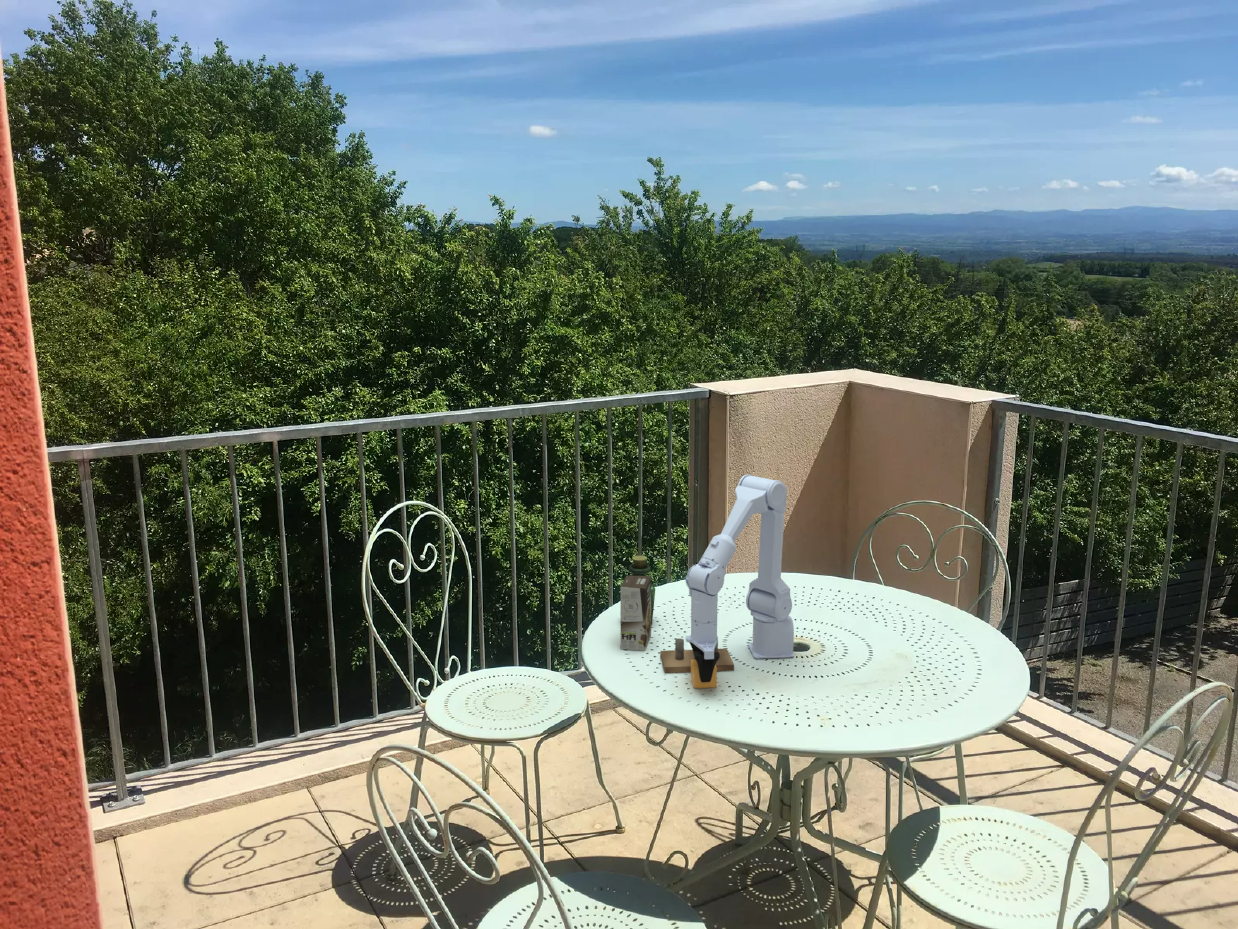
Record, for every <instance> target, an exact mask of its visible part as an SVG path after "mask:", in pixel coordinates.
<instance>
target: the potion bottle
mask: <svg viewBox="0 0 1238 929" xmlns="http://www.w3.org/2000/svg"><path fill="white" fill-rule="evenodd" d="M647 560H648V557H647V556H645V555H635V556H632V564H630V566H629V567H628V573H630V574H632V576H648V574H649V573H651V572H652V569H651V566H650V565H649V564H647ZM655 597H656V587H655V586H654V584H653V583H652V582H651V626H652V624H653V620H654V610H655V609H654V608H655Z"/></svg>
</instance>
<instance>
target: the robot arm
mask: <svg viewBox="0 0 1238 929" xmlns="http://www.w3.org/2000/svg"><path fill="white" fill-rule="evenodd" d="M787 494H788V487H787V486H786V485H785V483H783V482H782V481H781V480H779V479H770V478H765V477H759V476H754V475H751V474H744V475H743V476H741V477H740V479H739V481H738V483H737V486H736V487H735V489H734V496H735V502H734V504H733V506H732V509H731V511H730V513H729V515H728V517H727V519H726V521H725V524H724V526H723V528H722V530H721V533H720V534H717V535H715V536H713V537H712V538H711V540H710V541H709V544H708V546H707V548H705V551H704V553H703V554H702V556H701V558H700V560H699V561H698V563H697V564H694V565H692V566H691V567H690V568H689V570H688V571H687V574H686V578H685V585H686V587H687V588H688V595H689V596H690V599H691V600H690V601H691V602H690V603H691V604H690V607H691V608H690V610H691V612H690V613H691V614H690V616H691V617H690V635H686V636H685V642H686V643H689V645H690V647H691V650H693V654H694V659H696V661H697V664H698V669H699V676H700V680H701V682H710V681H711V678H712V674H713V670H714V667H715V664H716V662H717V661H718V659H719V657H720V654H719V652H714V649H715V646H716V644H717V642H718V643H719V636H718V601H719V600H718V596H719V594H718V593H720V592H721V590H722V588H724V583H725V576H726V573H727V572H726V569H727V566H728V565H729V563H730V562H731V560H732V558H733V556H734V554H735V552H736V551H737V546H736V540H737V539H738V537H739V536H740V535H741V533H742V531H743V530H744V528H745V527H746V525H747V524H748V522H749V521H750V519H751V517H752V516H753V515H756V514H760V528H759V529H760V532H759V549H758V567H757V568H758V570H757V577H756V578H755V579H752V580H751V581H750V582H749V584H748V591H747V593H746V598H745V606H746V608H747V610H749V611H750V616H752V617H753V618H752V642H751V643H750V642H749V643H747V647H748V648H749V650H750V652H751V654H752V656H753V658H754V659H757V660H758V659H780V658H781V659H783V658H794V657H795V655H794V638H795V633H794V632H795V630H794V629H795V628H794V622H793V618H792V616H790V614H791V612H792V608H793V602H792V598H791V588H790V587H789V585H788V584H787V583H786V582H785V581H784V580H783V579H782V576H781V575H782V560H783V546H784V545H783V543H784V528H785V527H784V526H785V512H786V511H787Z"/></svg>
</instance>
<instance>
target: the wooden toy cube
mask: <svg viewBox="0 0 1238 929" xmlns="http://www.w3.org/2000/svg"><path fill="white" fill-rule="evenodd" d="M717 675H718V671H717V668H716V665H715V667H714V670H713V674H712V678H711V681H710V682H701V680H700V676H699V669H698V664H697V661H696V659H691V672H690V680H691V683H692V686H693V688H694V689H707V688H710V689H711V688H717V686H718V685H717V678H718V677H717Z"/></svg>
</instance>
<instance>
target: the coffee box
mask: <svg viewBox="0 0 1238 929" xmlns="http://www.w3.org/2000/svg"><path fill="white" fill-rule="evenodd" d="M651 583H652V576H649V575H646V576H633V575H629V574H628V575H626V576H625V578H624V580H623V581H622V584H620V649H621V650H629V651H630V650H631V651H641V652H645V651H646V649H647V647H648V645H649V642H650V641H651V637H652V625H651Z"/></svg>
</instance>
